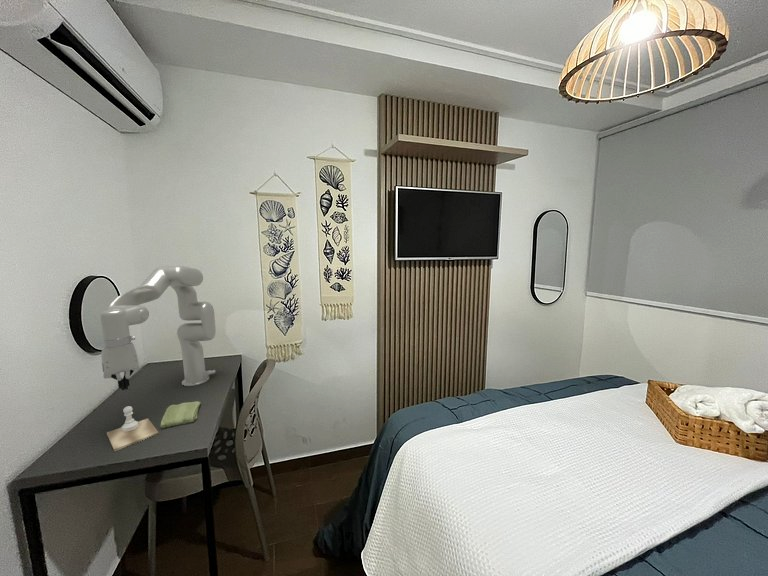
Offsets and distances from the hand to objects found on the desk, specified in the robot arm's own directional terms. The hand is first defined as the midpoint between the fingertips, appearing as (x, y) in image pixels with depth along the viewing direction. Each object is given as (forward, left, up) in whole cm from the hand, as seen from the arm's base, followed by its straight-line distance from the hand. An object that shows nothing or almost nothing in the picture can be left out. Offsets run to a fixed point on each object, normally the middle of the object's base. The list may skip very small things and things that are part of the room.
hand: (124, 388), depth 121 cm
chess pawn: (0, 0, -16) cm, 17 cm away
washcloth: (-16, +3, -18) cm, 25 cm away
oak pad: (0, +4, -17) cm, 18 cm away
